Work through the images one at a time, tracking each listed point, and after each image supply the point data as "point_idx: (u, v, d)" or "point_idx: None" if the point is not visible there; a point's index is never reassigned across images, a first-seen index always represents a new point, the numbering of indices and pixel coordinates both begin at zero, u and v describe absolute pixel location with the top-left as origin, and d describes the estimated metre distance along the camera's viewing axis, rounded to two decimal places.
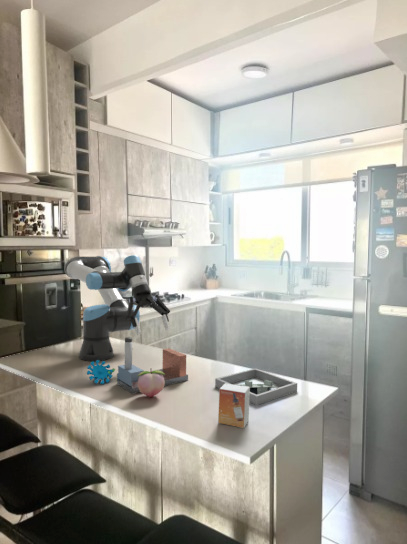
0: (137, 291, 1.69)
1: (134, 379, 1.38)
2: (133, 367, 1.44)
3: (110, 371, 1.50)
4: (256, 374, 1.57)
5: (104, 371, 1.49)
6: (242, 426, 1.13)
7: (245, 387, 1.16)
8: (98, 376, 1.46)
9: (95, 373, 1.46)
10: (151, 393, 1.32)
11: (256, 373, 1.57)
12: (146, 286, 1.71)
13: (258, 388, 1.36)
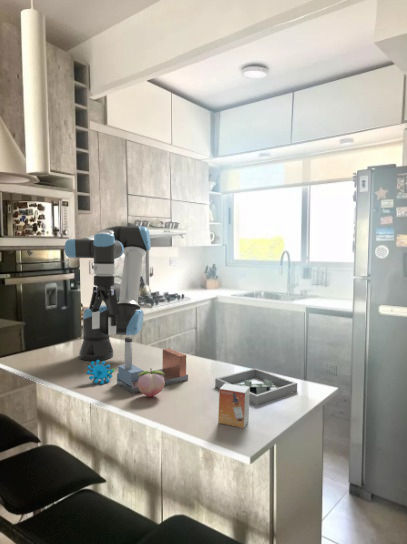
0: None
1: (134, 379, 1.38)
2: (133, 367, 1.44)
3: (110, 371, 1.50)
4: (256, 374, 1.57)
5: (104, 371, 1.49)
6: (242, 426, 1.13)
7: (245, 387, 1.16)
8: (98, 376, 1.46)
9: (95, 373, 1.46)
10: (151, 393, 1.32)
11: (256, 373, 1.57)
12: (96, 279, 1.44)
13: (257, 388, 1.37)
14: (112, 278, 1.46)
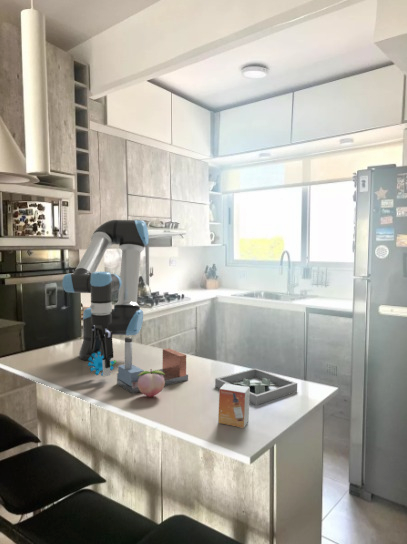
0: None
1: (134, 379, 1.38)
2: (133, 367, 1.44)
3: (111, 363, 1.51)
4: (256, 374, 1.57)
5: None
6: (242, 426, 1.13)
7: (245, 387, 1.16)
8: (99, 368, 1.47)
9: (96, 365, 1.47)
10: (151, 393, 1.32)
11: (256, 373, 1.57)
12: (93, 318, 1.44)
13: (256, 386, 1.38)
14: (109, 317, 1.46)
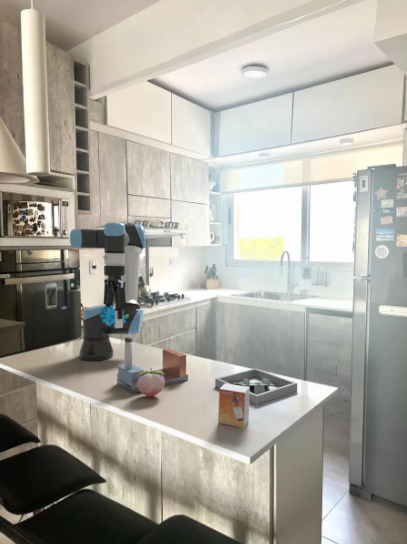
0: None
1: (134, 379, 1.38)
2: (133, 367, 1.44)
3: (124, 316, 1.49)
4: (256, 374, 1.57)
5: None
6: (242, 426, 1.13)
7: (245, 387, 1.16)
8: (111, 320, 1.45)
9: (108, 317, 1.45)
10: (151, 393, 1.32)
11: (256, 373, 1.57)
12: (106, 269, 1.43)
13: (255, 386, 1.38)
14: (122, 268, 1.44)
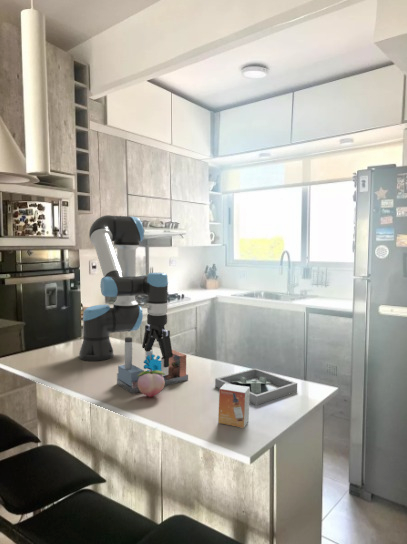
0: None
1: (134, 379, 1.38)
2: (133, 367, 1.44)
3: None
4: (256, 374, 1.57)
5: (160, 365, 1.50)
6: (242, 426, 1.13)
7: (245, 387, 1.16)
8: (154, 370, 1.47)
9: (151, 367, 1.48)
10: (151, 393, 1.32)
11: (256, 373, 1.57)
12: (150, 319, 1.45)
13: (252, 384, 1.40)
14: (165, 317, 1.47)
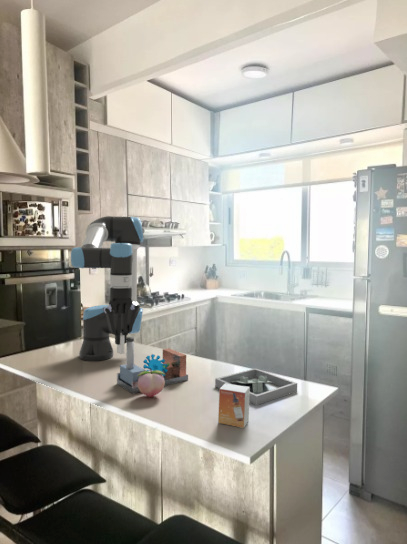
0: (115, 296, 1.35)
1: (136, 379, 1.39)
2: (135, 367, 1.44)
3: (165, 365, 1.52)
4: (256, 374, 1.57)
5: (159, 365, 1.50)
6: (242, 426, 1.13)
7: (245, 387, 1.16)
8: (154, 370, 1.48)
9: (151, 367, 1.48)
10: (151, 393, 1.32)
11: (256, 373, 1.57)
12: (128, 292, 1.36)
13: (253, 384, 1.41)
14: None
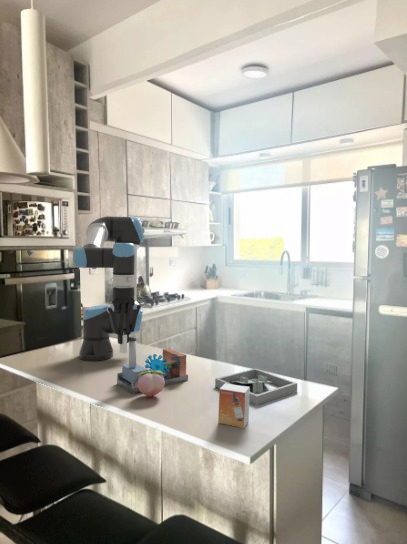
0: (118, 296, 1.35)
1: (138, 378, 1.39)
2: (137, 366, 1.45)
3: (167, 365, 1.52)
4: (256, 374, 1.57)
5: (161, 365, 1.51)
6: (242, 426, 1.13)
7: (245, 387, 1.16)
8: None
9: (153, 367, 1.48)
10: (151, 393, 1.32)
11: (256, 373, 1.57)
12: (131, 291, 1.37)
13: (253, 384, 1.41)
14: None
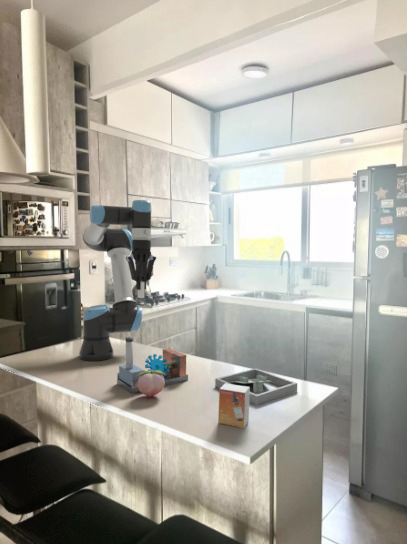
0: (137, 246, 1.55)
1: (135, 379, 1.38)
2: (134, 367, 1.44)
3: (167, 365, 1.52)
4: (256, 374, 1.57)
5: (161, 365, 1.51)
6: (242, 426, 1.13)
7: (245, 387, 1.16)
8: None
9: (153, 367, 1.48)
10: (151, 393, 1.32)
11: (256, 373, 1.57)
12: (148, 243, 1.56)
13: (254, 383, 1.41)
14: None
